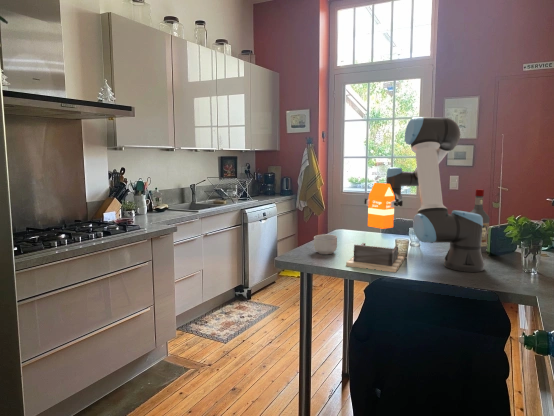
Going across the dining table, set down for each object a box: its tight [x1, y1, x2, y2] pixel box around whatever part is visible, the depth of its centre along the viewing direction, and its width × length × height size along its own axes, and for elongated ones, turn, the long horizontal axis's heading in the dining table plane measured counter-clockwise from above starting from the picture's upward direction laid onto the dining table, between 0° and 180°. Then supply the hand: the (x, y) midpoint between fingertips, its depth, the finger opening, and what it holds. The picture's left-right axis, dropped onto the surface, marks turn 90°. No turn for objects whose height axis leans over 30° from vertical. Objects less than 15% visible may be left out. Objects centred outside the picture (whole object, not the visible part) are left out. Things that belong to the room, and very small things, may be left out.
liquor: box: [470, 188, 491, 253], centre depth 199 cm, size 9×9×30 cm
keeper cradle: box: [345, 242, 405, 273], centre depth 173 cm, size 22×20×8 cm
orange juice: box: [367, 182, 395, 230], centre depth 186 cm, size 8×9×20 cm
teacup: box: [313, 233, 338, 255], centre depth 191 cm, size 14×11×8 cm
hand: (379, 203), depth 182 cm, fingers closed on orange juice, 10 cm apart
